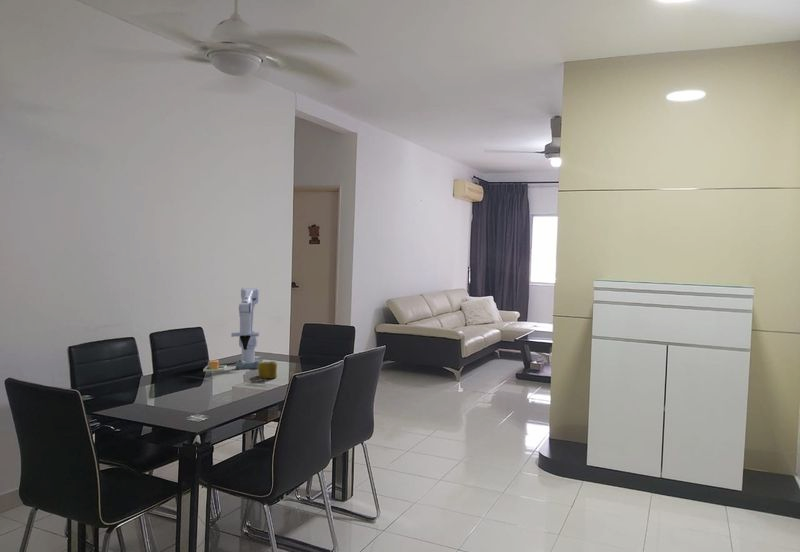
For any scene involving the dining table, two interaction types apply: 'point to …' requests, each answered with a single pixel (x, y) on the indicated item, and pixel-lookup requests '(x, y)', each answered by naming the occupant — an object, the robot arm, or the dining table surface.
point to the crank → (246, 364)
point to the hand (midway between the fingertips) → (245, 349)
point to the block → (214, 364)
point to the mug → (267, 370)
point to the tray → (215, 369)
